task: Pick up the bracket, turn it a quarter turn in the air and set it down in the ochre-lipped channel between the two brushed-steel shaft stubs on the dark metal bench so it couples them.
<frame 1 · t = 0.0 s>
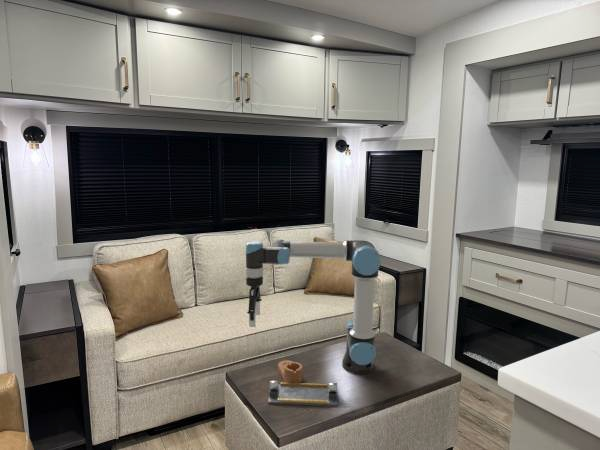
hand: (254, 320, 187), 28 cm above the table, fingers open, 13 cm apart
bracket: (289, 375, 194), on the table
coupling bench: (303, 395, 177), on the table
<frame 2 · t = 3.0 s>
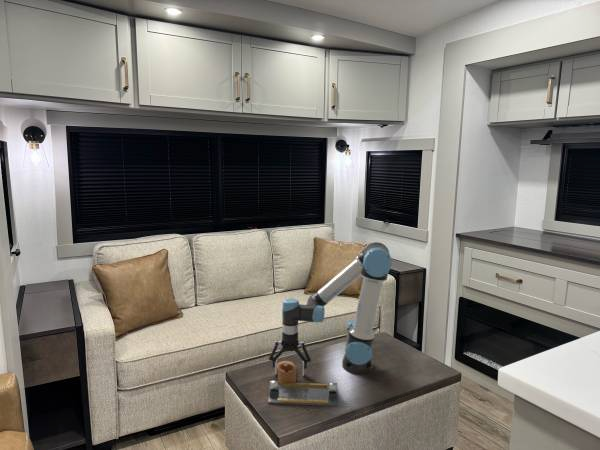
hand: (289, 374, 194), 0 cm above the table, fingers open, 12 cm apart
bracket: (286, 376, 193), on the table
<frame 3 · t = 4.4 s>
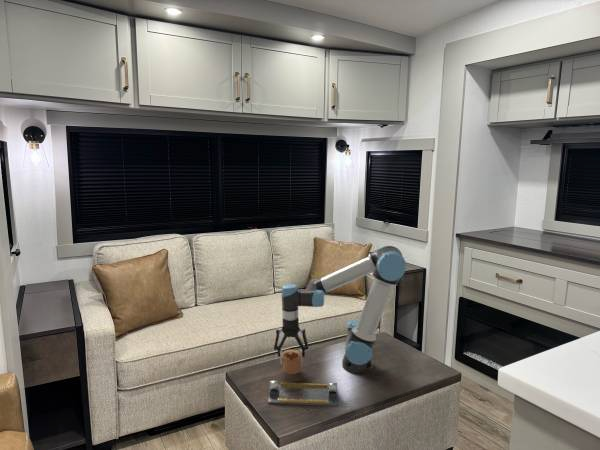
hand: (291, 362, 193), 6 cm above the table, fingers closed on bracket, 9 cm apart
bracket: (291, 364, 192), point 6 cm above the table, touching gripper
when the fingers open (2 cm above the table, at t = 9.5 s): bracket drops 1 cm, resting on coupling bench.
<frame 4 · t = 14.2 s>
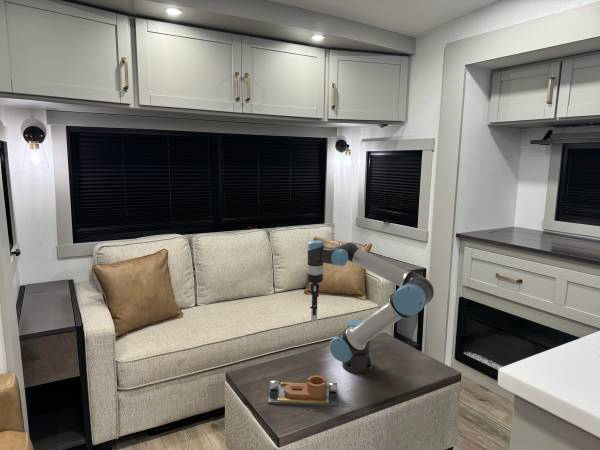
hand: (314, 315, 197), 27 cm above the table, fingers open, 13 cm apart
bracket: (305, 395, 176), point 1 cm above the table, touching coupling bench
at the end: bracket inside the target area on the coupling bench (1.1 cm from its centre), point 0.8 cm above the coupling bench's base; the gripper is holding nothing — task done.
